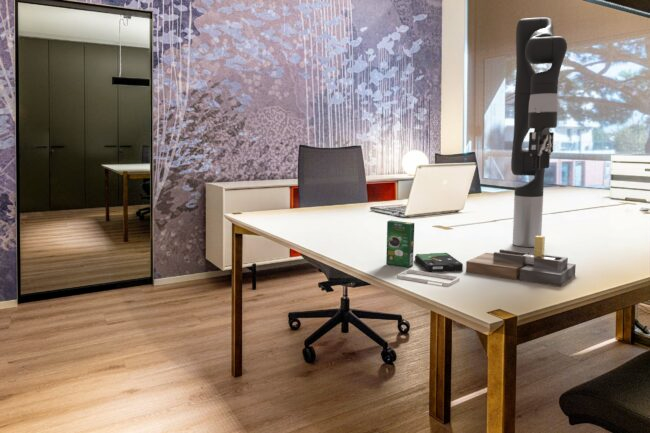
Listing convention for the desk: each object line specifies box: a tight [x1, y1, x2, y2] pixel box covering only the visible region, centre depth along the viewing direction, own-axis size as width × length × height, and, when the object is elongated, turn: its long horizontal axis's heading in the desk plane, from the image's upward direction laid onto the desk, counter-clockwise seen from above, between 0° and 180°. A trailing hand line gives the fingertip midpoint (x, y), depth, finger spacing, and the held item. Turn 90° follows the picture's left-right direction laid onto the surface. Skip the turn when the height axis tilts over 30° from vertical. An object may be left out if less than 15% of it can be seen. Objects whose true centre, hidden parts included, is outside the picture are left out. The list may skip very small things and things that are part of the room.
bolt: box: [523, 235, 556, 265], centre depth 141 cm, size 2×8×8 cm, turn 51°
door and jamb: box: [465, 248, 577, 288], centre depth 145 cm, size 14×25×6 cm, turn 51°
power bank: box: [396, 269, 460, 287], centre depth 141 cm, size 7×1×15 cm
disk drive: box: [414, 252, 464, 273], centre depth 155 cm, size 10×3×15 cm
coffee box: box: [385, 219, 415, 268], centre depth 156 cm, size 8×3×13 cm, turn 54°
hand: (540, 169), depth 150 cm, fingers open, 8 cm apart
